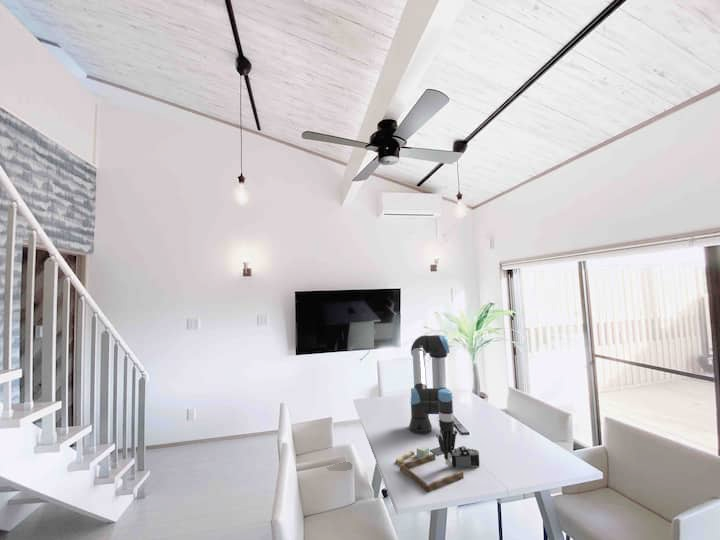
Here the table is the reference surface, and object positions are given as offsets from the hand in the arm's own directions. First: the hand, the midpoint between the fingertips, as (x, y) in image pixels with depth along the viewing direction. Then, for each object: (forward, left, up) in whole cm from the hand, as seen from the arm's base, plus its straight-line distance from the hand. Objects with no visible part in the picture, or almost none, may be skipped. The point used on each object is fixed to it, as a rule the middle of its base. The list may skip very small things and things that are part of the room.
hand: (448, 464), depth 177 cm
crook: (+13, -17, -2) cm, 22 cm away
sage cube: (+4, -16, -2) cm, 17 cm away
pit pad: (-8, -16, -2) cm, 18 cm away
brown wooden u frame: (+12, 0, -2) cm, 12 cm away
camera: (-10, +2, -2) cm, 10 cm away
